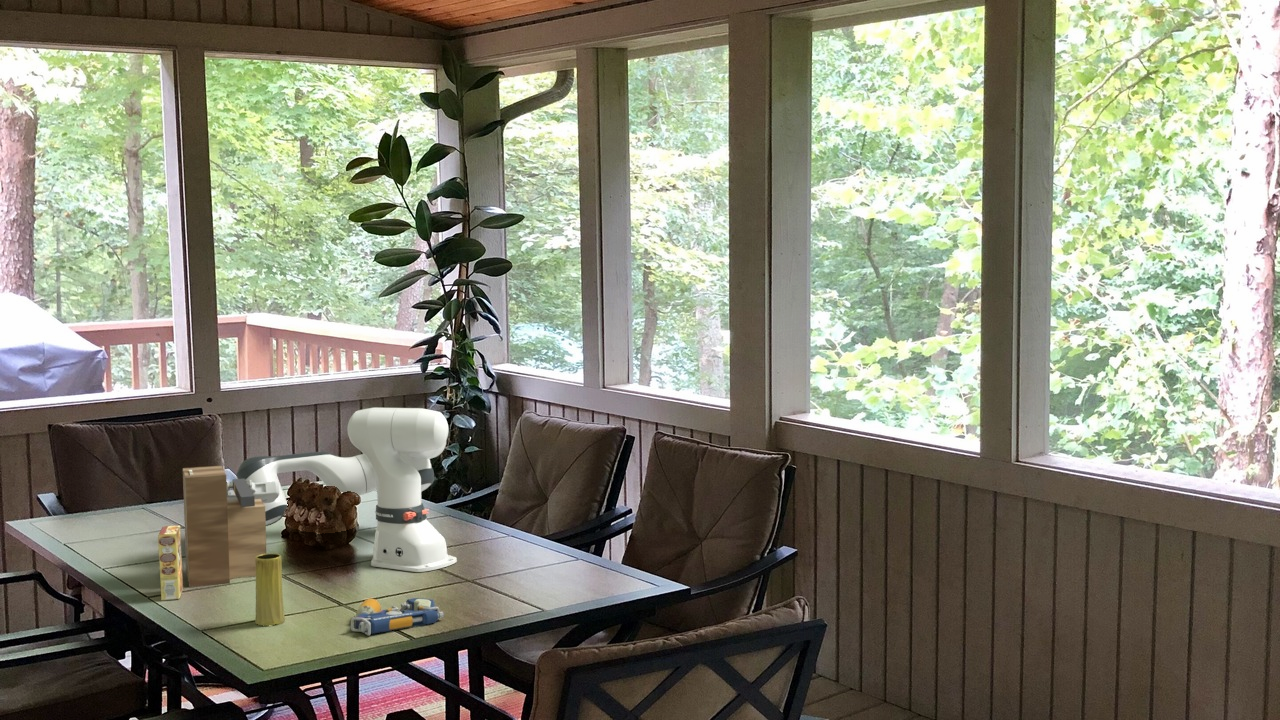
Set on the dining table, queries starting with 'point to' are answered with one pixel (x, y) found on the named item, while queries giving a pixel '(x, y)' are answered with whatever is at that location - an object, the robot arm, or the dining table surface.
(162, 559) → the candy box
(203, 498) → the stand
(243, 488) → the bar
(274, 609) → the vase
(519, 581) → the dining table surface
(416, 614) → the toy blaster gun
